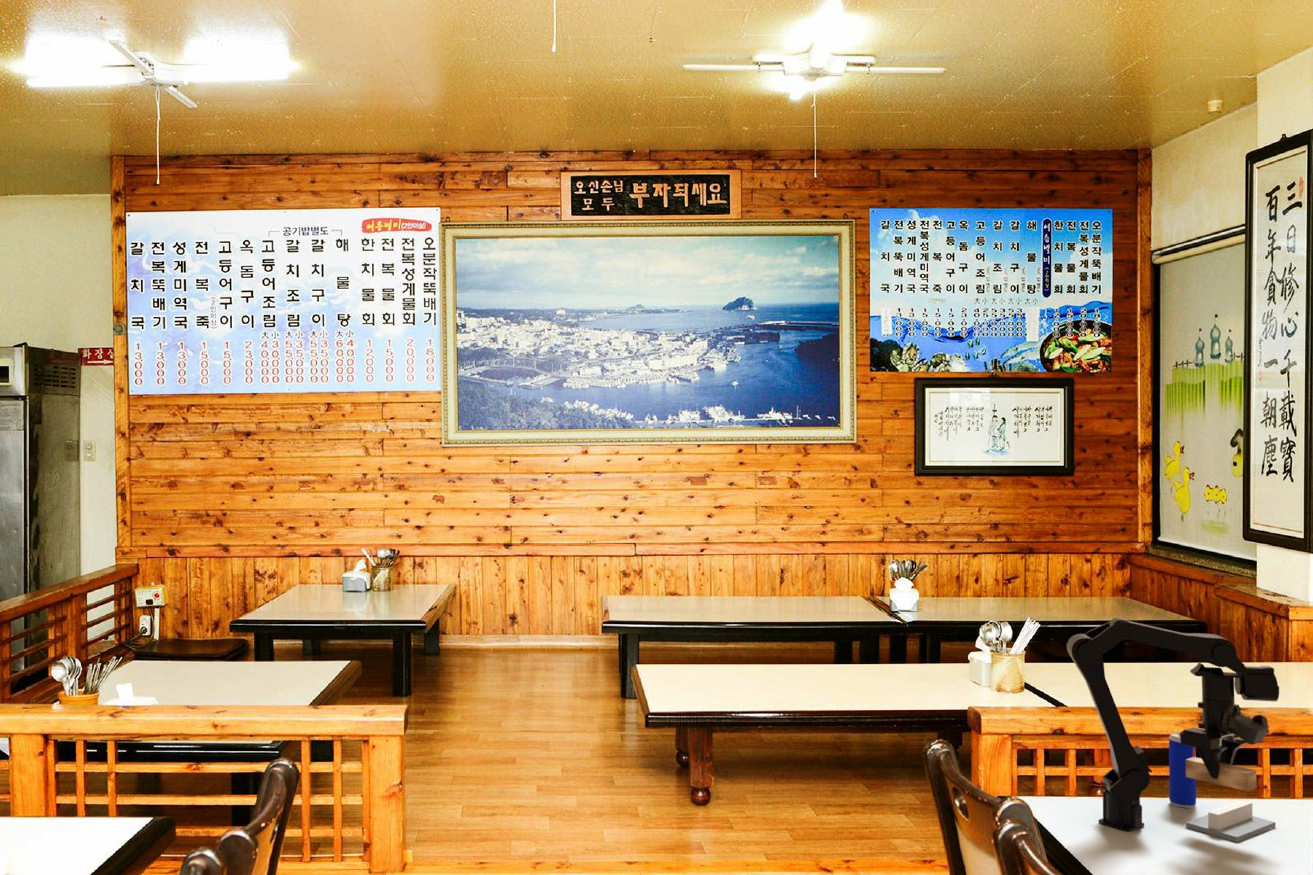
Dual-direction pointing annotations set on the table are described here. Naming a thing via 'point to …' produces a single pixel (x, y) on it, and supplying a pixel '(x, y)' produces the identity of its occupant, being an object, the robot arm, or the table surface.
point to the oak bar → (1222, 774)
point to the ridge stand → (1231, 822)
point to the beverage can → (1180, 773)
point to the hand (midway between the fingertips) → (1220, 776)
